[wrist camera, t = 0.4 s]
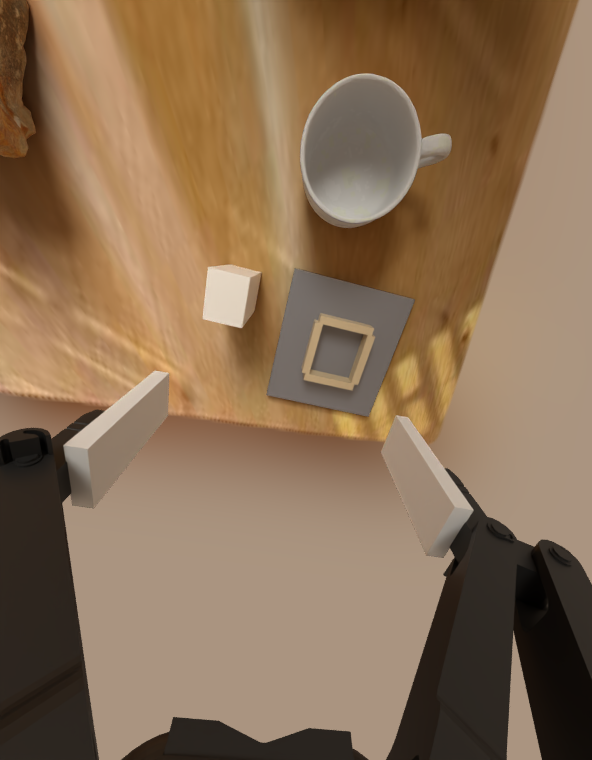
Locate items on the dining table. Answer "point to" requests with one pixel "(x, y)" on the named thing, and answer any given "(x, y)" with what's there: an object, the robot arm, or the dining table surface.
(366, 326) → the socket plate
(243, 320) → the plug
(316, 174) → the teacup
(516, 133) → the dining table surface
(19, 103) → the rough brown rock
